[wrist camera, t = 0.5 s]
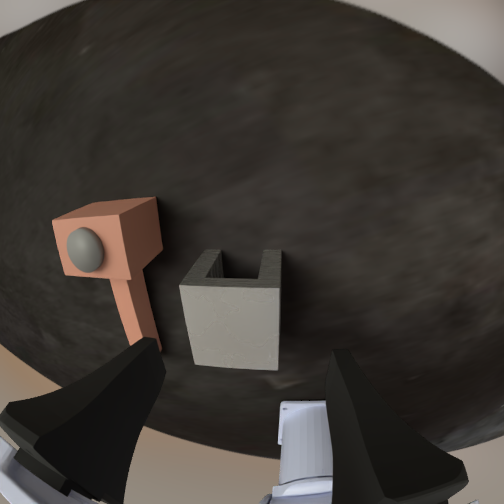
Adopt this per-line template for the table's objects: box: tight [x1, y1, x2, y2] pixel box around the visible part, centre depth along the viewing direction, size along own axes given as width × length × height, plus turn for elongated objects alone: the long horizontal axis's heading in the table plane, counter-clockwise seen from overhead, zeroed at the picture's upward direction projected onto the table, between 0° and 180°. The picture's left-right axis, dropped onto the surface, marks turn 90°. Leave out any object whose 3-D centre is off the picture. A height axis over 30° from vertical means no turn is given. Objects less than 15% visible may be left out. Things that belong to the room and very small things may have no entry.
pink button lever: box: [52, 197, 163, 352], centre depth 19 cm, size 14×6×6 cm, turn 2°
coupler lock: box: [179, 250, 281, 370], centre depth 18 cm, size 6×5×5 cm
